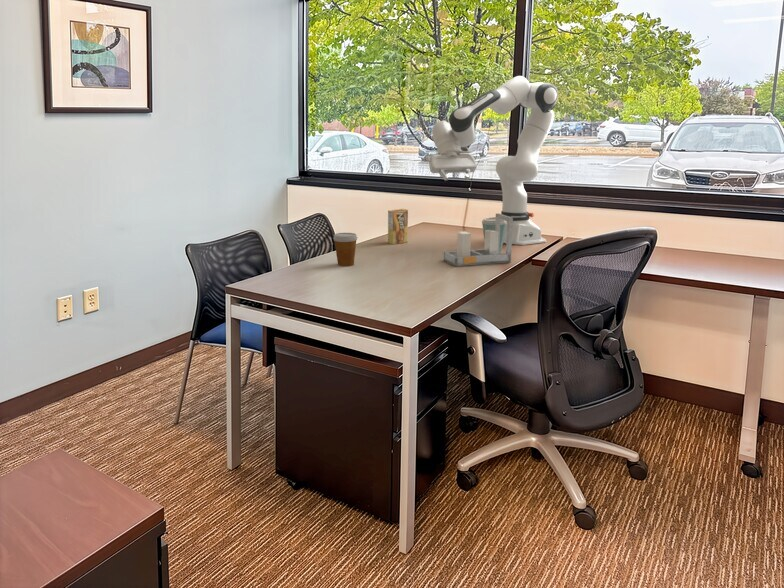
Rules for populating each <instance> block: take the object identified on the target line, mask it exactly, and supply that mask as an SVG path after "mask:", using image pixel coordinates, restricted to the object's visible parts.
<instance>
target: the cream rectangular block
mask: <svg viewBox="0 0 784 588" xmlns="http://www.w3.org/2000/svg"><path fill="white" fill-rule="evenodd" d="M471 239H472V233H471V232H467V231H457V239H456V240H457V243H456V245H457V246H456V247H457V248H456V249H457V250H456V251H457V257H465V256H470V250H471V247H472V246H471V241H472V240H471Z"/></svg>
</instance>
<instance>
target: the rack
mask: <svg viewBox="0 0 784 588" xmlns="http://www.w3.org/2000/svg"><path fill="white" fill-rule="evenodd" d="M495 217H496V219H495V231H494V230H485V242H483V243H484V246H483V247H484V248H483V249H482V248H480V249H470V256H465V257H457V250H453V251H443V261H444V260H445V262H446V263H448V264H450V265H451V264H452V265H451V266H453V265H454V266H453V267H455V266H456V267H466V266H467V267H468V266H469V265H470V266H481V265H482V266H483V265H494V264H506V263H511V261H512V246H513V244H512V226H513V218H512V217H509V216H506V215H502V214H501V213H495ZM500 219H502V220H506V221H508V222H507V243H505V244H506V245H505V246H506V248H505V249H506V250H505V253H499V242H500Z"/></svg>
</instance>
